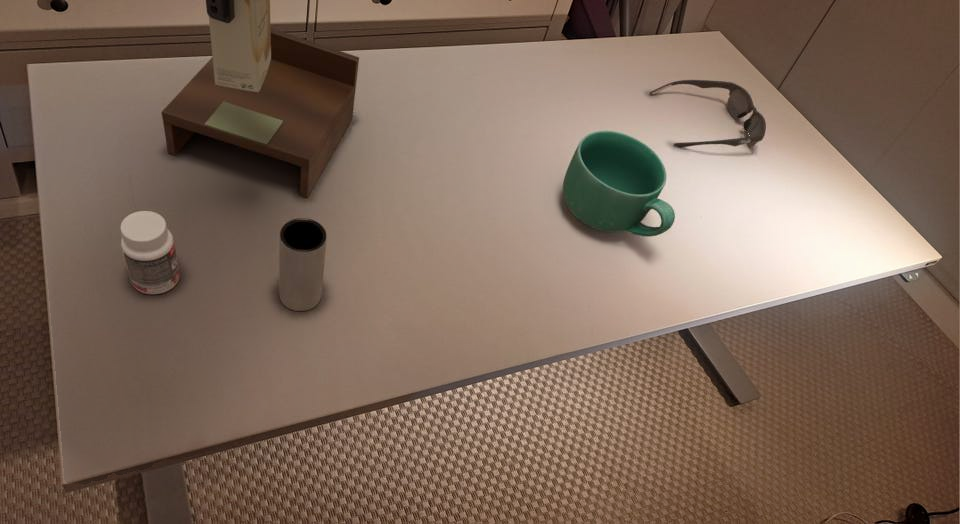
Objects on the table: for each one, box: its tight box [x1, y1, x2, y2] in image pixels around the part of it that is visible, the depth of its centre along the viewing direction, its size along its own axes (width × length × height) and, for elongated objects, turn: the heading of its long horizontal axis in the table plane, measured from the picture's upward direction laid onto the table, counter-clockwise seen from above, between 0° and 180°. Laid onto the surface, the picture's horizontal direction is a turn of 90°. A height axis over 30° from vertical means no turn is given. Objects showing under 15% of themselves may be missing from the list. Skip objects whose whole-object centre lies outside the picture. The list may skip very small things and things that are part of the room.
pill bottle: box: [120, 210, 181, 295], centre depth 67 cm, size 5×5×8 cm
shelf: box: [161, 27, 360, 199], centre depth 84 cm, size 17×18×10 cm
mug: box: [562, 130, 676, 238], centre depth 89 cm, size 17×13×10 cm
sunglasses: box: [649, 79, 767, 149], centre depth 113 cm, size 16×17×5 cm
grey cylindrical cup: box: [278, 217, 328, 312], centre depth 69 cm, size 4×4×10 cm
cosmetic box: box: [208, 0, 271, 92], centre depth 61 cm, size 6×4×12 cm
